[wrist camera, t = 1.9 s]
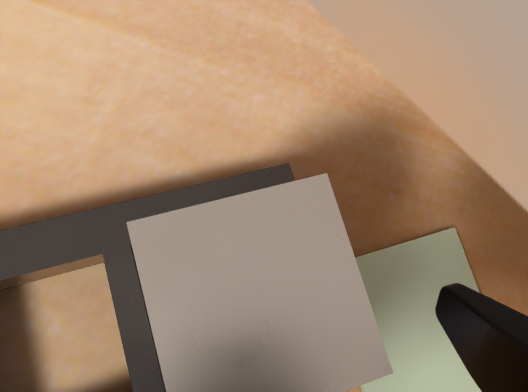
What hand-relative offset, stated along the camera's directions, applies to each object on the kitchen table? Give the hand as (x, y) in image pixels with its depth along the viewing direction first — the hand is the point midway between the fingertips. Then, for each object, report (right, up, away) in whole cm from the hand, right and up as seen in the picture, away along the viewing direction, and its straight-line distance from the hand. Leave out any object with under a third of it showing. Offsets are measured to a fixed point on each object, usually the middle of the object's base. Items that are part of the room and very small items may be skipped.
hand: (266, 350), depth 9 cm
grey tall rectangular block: (-2, -1, +9) cm, 9 cm away
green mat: (+7, -3, +10) cm, 13 cm away
